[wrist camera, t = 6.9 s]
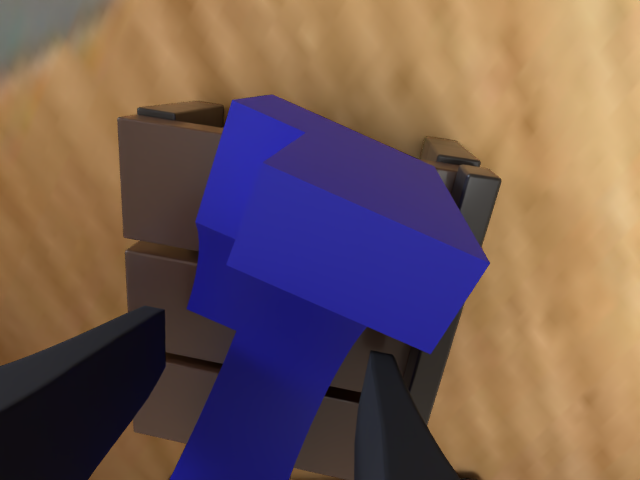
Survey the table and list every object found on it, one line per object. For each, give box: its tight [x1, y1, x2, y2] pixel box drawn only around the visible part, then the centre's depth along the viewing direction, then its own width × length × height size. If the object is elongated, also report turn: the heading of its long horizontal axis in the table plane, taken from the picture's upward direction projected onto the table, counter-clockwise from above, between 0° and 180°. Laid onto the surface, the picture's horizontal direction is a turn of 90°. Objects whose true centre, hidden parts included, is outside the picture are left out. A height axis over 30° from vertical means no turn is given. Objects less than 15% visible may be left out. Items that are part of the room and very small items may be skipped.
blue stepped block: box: [170, 94, 490, 480], centre depth 10 cm, size 12×4×6 cm, turn 158°
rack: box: [117, 101, 501, 480], centre depth 15 cm, size 10×12×6 cm
